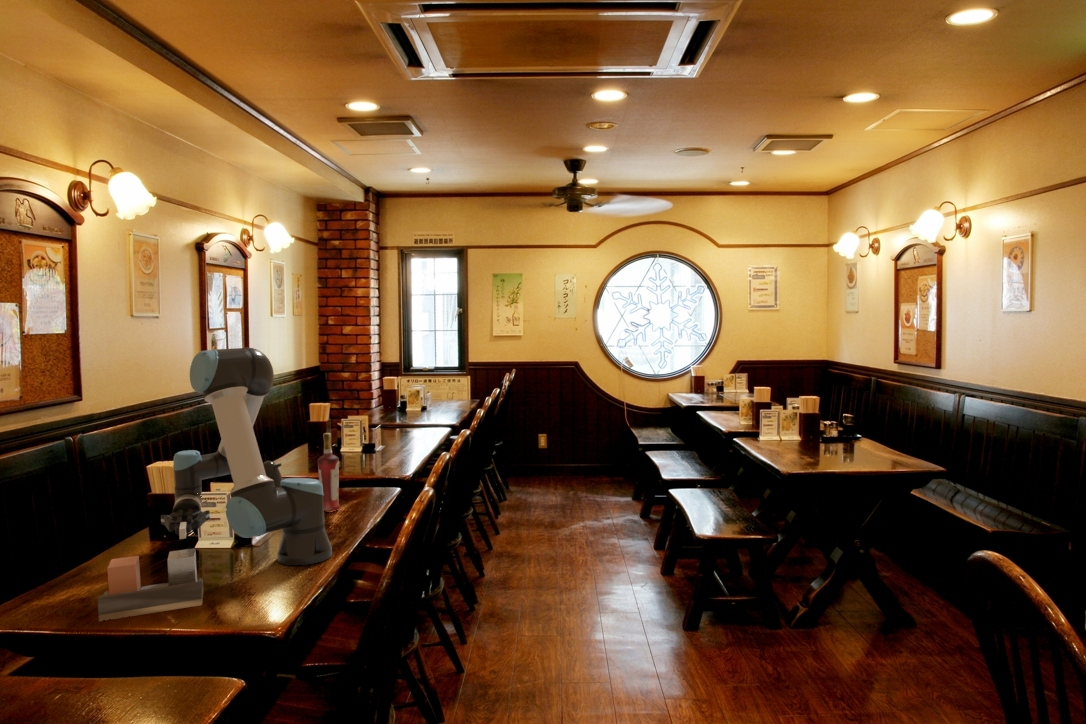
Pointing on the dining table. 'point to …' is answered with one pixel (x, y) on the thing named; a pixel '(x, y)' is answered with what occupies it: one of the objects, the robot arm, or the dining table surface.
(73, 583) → the dining table surface
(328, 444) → the liquor
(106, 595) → the base
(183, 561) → the gray block
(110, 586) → the terracotta plunger
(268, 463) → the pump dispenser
